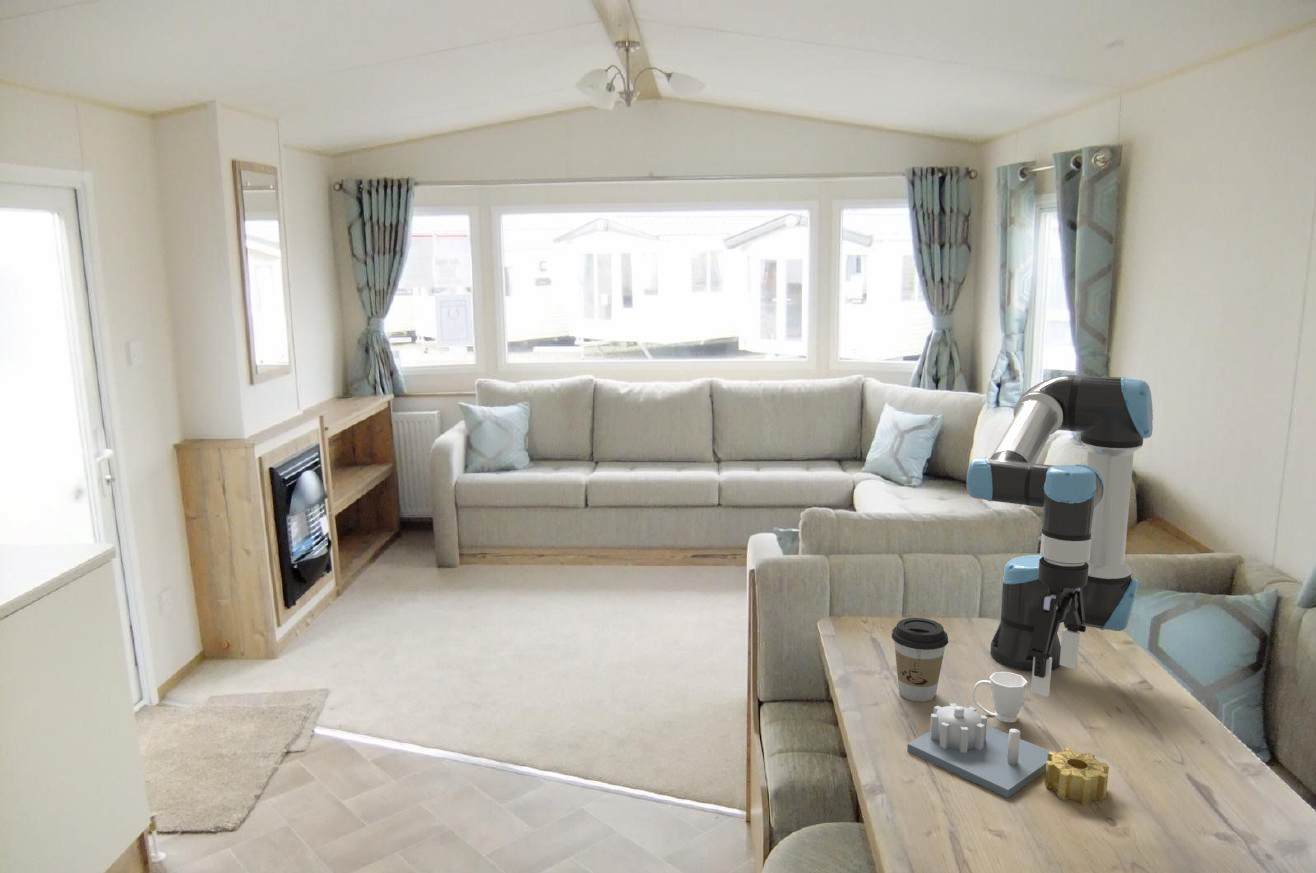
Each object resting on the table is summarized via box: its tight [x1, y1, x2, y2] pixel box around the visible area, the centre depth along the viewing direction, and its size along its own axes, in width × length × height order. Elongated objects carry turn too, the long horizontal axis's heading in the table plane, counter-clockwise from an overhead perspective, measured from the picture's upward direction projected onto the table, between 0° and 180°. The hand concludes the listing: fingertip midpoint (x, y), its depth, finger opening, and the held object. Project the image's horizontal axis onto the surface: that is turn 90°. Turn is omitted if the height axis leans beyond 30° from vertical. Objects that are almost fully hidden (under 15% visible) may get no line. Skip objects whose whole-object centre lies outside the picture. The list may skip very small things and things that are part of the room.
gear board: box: [907, 703, 1051, 799], centre depth 169 cm, size 17×20×8 cm
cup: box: [971, 671, 1028, 723], centre depth 184 cm, size 7×10×8 cm
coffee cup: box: [891, 617, 949, 703], centre depth 193 cm, size 11×11×15 cm
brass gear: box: [1044, 748, 1110, 806], centre depth 160 cm, size 10×10×4 cm
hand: (1054, 679), depth 158 cm, fingers open, 13 cm apart
